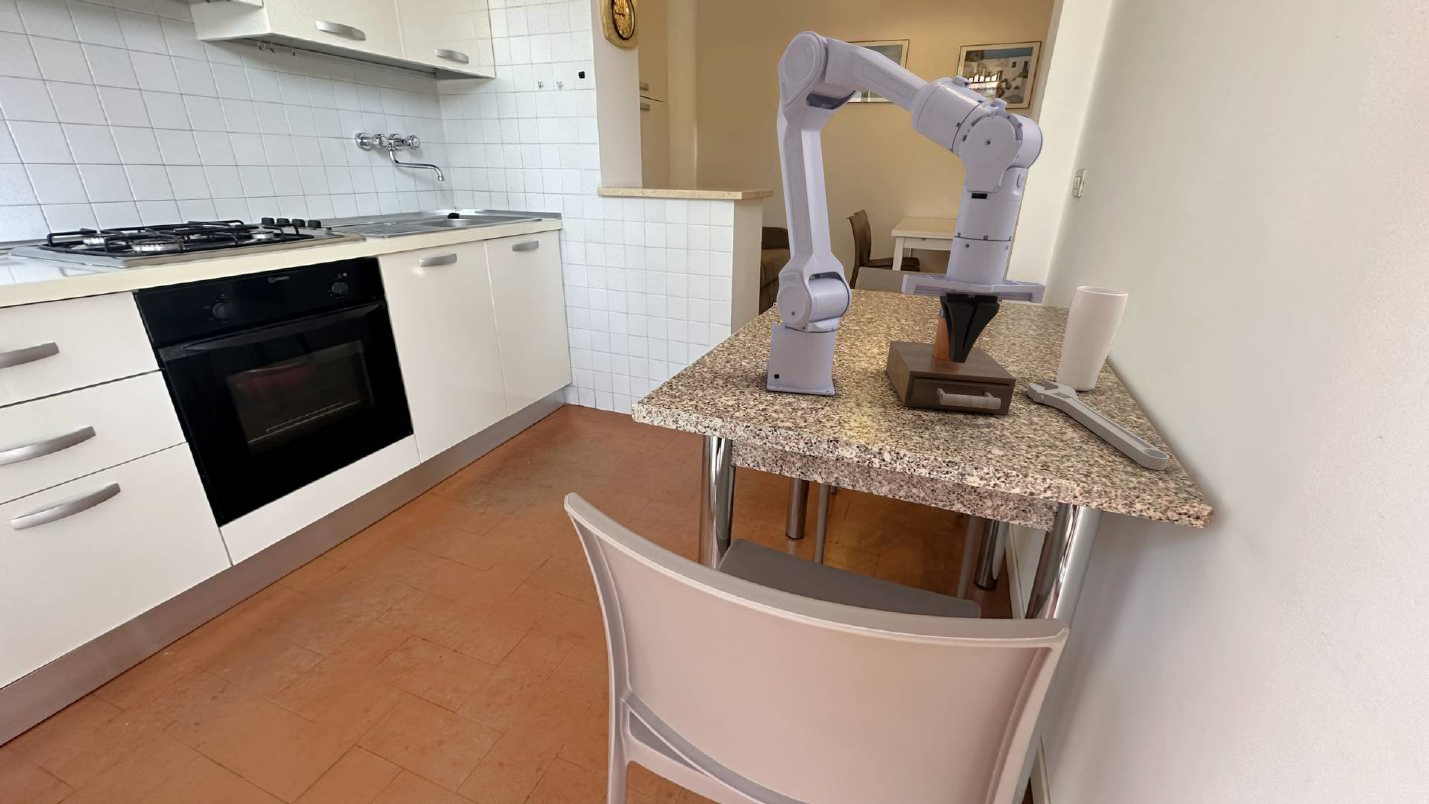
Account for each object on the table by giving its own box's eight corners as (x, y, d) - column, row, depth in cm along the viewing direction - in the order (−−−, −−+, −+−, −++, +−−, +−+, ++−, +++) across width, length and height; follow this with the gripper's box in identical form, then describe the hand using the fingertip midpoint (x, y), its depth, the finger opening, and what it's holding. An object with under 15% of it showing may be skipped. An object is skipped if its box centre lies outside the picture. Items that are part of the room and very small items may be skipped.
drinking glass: (1052, 376, 93) (1077, 284, 88) (1100, 386, 90) (1130, 290, 84) (1046, 386, 88) (1073, 289, 83) (1098, 397, 85) (1129, 296, 79)
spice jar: (934, 360, 81) (944, 311, 78) (927, 351, 85) (936, 304, 82) (967, 362, 80) (978, 313, 78) (958, 353, 85) (968, 307, 82)
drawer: (1019, 423, 71) (1025, 398, 70) (917, 414, 72) (922, 390, 71) (974, 376, 88) (979, 356, 87) (892, 370, 90) (896, 350, 88)
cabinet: (1007, 415, 76) (1016, 379, 74) (903, 406, 78) (910, 370, 76) (972, 377, 91) (979, 346, 89) (885, 370, 92) (890, 340, 90)
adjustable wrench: (1171, 472, 63) (1177, 457, 62) (1111, 468, 63) (1116, 453, 63) (1061, 392, 86) (1064, 381, 85) (1017, 389, 86) (1020, 378, 86)
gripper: (920, 237, 58) (898, 365, 63) (1070, 246, 56) (1036, 376, 61) (907, 232, 64) (888, 348, 69) (1041, 239, 63) (1012, 357, 68)
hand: (956, 360), depth 66 cm, fingers closed
